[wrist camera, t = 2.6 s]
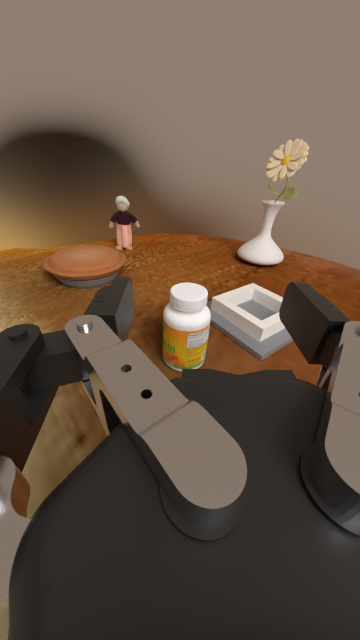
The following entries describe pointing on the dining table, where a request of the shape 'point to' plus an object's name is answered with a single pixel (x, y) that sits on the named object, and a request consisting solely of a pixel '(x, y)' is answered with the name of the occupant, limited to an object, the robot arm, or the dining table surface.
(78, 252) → the pie
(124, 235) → the grandmother figurine
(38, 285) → the dining table surface
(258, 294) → the socket plate
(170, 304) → the supplement bottle
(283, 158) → the flower in vase
